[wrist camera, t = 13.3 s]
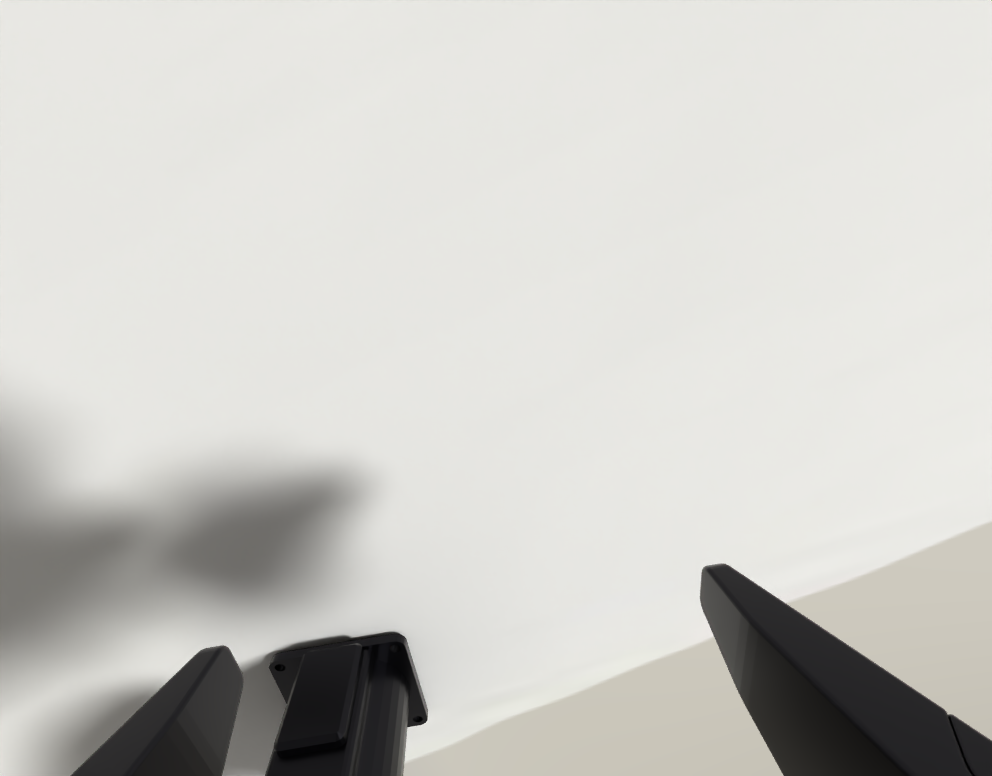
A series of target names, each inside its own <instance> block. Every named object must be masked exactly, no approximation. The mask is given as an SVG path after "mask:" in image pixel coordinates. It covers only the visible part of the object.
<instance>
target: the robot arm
mask: <svg viewBox="0 0 992 776" xmlns="http://www.w3.org/2000/svg"><path fill="white" fill-rule="evenodd" d="M700 601H701V606H702V609H703V612H704V614H705V616H706V619H707V621H708V623H709V625H710V628H711V630H712V632H713V635H714V637H715V639H716V642H717V644H718V646H719V649H720V651H721V653H722V656H723V658H724V660H725V663H726V665H727V667H728V670H729V672H730V674H731V676H732V679H733V681H734V683H735V685H736V688H737V690H738V692H739V694H740V696H741V698H742V700H743V702H744V704H745V706H746V708H747V709H748V711H749V713H750V715H751V717H752V719H753V721H754V722H755V724H756V726H757V728H758V730H759V731H760V733H761V735H762V737H763V739H764V741H765V742H766V744H767V746H768V748H769V750H770V751H771V753H772V755H773V757H774V759H775V761H776V762H777V764H778V766H779V768H780V770H781V772H782V773H783V775H784V776H992V741H991V740H990V739H988V738H987V737H985V736H984V735H982V734H981V733H979V732H978V731H976V730H975V729H973V728H972V727H970V726H969V725H967V724H966V723H964V722H963V721H961V720H960V719H958V718H957V717H955V716H954V715H951V714H949V715H948V714H947V713H946V711H945V710H944V709H943V708H941V707H940V706H938V705H937V704H936V703H934V702H932V701H931V700H930V699H928V698H927V697H925V696H924V695H922V694H921V693H919V692H917V691H916V690H915V689H913V688H912V687H910V686H909V685H907V684H906V683H904V682H903V681H901V680H899V679H898V678H897V677H895V676H894V675H892V674H891V673H889V672H888V671H886V670H885V669H883V668H881V667H880V666H879V665H877V664H876V663H874V662H873V661H871V660H869V659H868V658H867V657H865V656H864V655H862V654H861V653H859V652H858V651H856V650H855V649H853V648H852V647H850V646H849V645H847V644H846V643H844V642H843V641H841V640H840V639H838V638H837V637H835V636H834V635H832V634H830V633H829V632H828V631H826V630H824V629H823V628H822V627H820V626H819V625H817V624H816V623H814V622H813V621H811V620H810V619H808V618H806V617H805V616H804V615H802V614H801V613H799V612H797V611H796V610H795V609H793V608H791V607H790V606H789V605H787V604H786V603H784V602H783V601H781V600H780V599H778V598H777V597H775V596H774V595H772V594H771V593H769V592H768V591H766V590H765V589H763V588H762V587H760V586H759V585H757V584H756V583H754V582H753V581H751V580H750V579H748V578H747V577H745V576H744V575H742V574H741V573H739V572H738V571H736V570H735V569H733V568H732V567H730V566H729V565H726V564H715V565H709V566H705V567H704V568H703V569H702V575H701V590H700ZM269 669H270V671H271V673H272V675H273V677H274V679H275V681H276V683H277V685H278V687H279V689H280V691H281V693H282V695H283V697H284V699H285V701H286V703H287V706H286V709H285V712H284V715H283V718H282V721H281V724H280V727H279V731H278V734H277V737H276V740H275V743H274V749H273V752H272V755H271V758H270V762H269V765H268V768H267V771H266V774H265V776H403V769H404V759H405V747H406V736H407V727H411V726H417V725H422V724H424V723H426V721H427V718H428V709H427V705H426V702H425V699H424V696H423V692H422V689H421V686H420V683H419V679H418V676H417V673H416V670H415V666H414V663H413V660H412V656H411V653H410V650H409V647H408V643H407V640H406V638H405V637H404V636H403V635H400V634H391V635H385V636H379V637H373V638H367V639H361V640H355V641H349V642H343V643H337V644H331V645H325V646H319V647H313V648H307V649H301V650H295V651H289V652H283V653H278V654H276V655H274V656H273V658H272V661H271V663H270V666H269ZM242 688H243V675H242V671H241V670H240V668H239V666H238V664H237V662H236V660H235V658H234V656H233V655H232V653H231V651H230V649H229V648H228V647H226V646H216V647H210V648H205V649H203V650H201V651H199V652H198V653H197V654H196V655H195V656H194V657H193V658H192V659H191V660H190V661H189V662H188V663H187V664H186V665H185V666H184V667H182V668H181V669H180V670H179V671H178V672H177V673H176V674H175V675H174V676H173V677H172V678H171V679H170V680H169V681H168V682H167V683H166V684H165V685H164V686H163V687H162V688H161V689H160V690H159V691H158V692H157V693H156V694H155V695H154V696H153V697H151V698H150V699H149V700H148V701H147V702H146V703H145V704H144V705H143V706H142V707H141V708H140V709H139V710H138V711H137V712H136V713H135V714H134V715H133V716H132V717H131V718H130V719H129V720H128V721H127V722H126V723H125V724H124V725H123V726H121V727H120V728H119V729H118V730H117V731H116V732H115V733H114V734H113V735H112V736H111V737H110V738H109V739H108V740H107V741H106V742H105V743H104V744H103V745H102V746H101V747H100V748H99V749H98V750H97V751H96V752H95V753H94V754H93V755H92V756H90V757H89V758H88V759H87V760H86V761H85V762H84V763H83V764H82V765H81V766H80V767H79V768H78V769H77V770H76V771H75V772H74V773H73V774H72V775H71V776H222V773H223V769H224V765H225V761H226V756H227V752H228V748H229V744H230V739H231V735H232V731H233V727H234V722H235V718H236V714H237V710H238V705H239V701H240V697H241V693H242Z"/></svg>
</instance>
